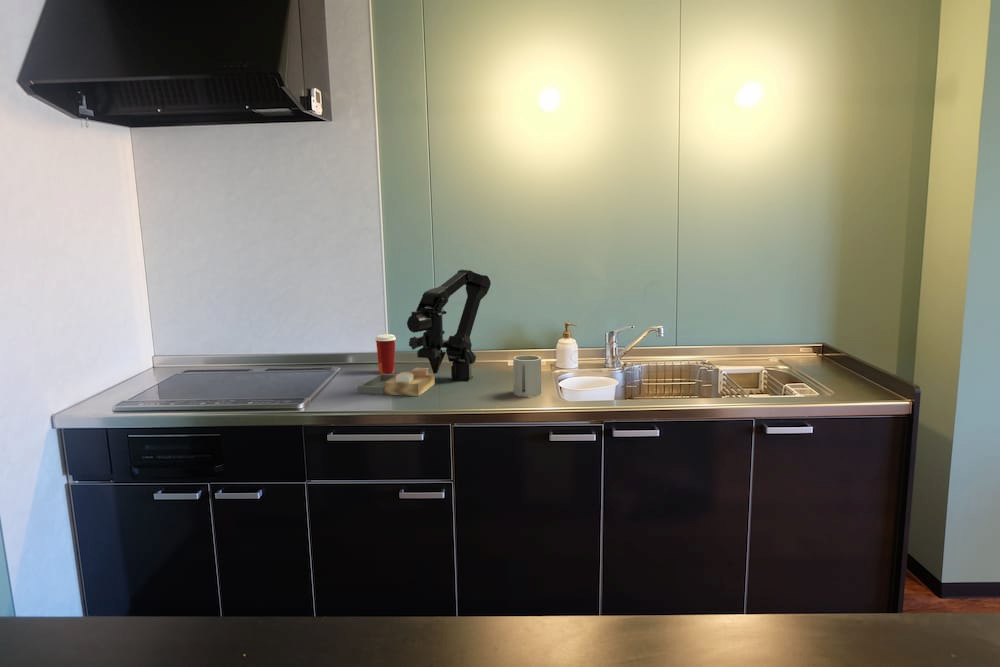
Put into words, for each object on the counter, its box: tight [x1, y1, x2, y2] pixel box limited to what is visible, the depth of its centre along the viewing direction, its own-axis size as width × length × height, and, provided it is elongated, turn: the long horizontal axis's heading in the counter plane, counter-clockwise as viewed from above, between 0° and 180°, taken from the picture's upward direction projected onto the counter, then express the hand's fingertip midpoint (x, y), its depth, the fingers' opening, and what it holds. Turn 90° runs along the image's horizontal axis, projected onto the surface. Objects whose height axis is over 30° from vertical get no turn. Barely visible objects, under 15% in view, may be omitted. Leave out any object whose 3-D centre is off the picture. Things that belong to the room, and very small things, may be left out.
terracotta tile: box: [410, 367, 429, 377], centre depth 237 cm, size 4×4×2 cm
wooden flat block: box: [384, 371, 436, 397], centre depth 233 cm, size 12×16×4 cm
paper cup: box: [375, 333, 397, 375], centre depth 258 cm, size 8×8×14 cm
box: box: [357, 373, 397, 396], centre depth 236 cm, size 9×18×2 cm, turn 166°
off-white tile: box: [396, 372, 414, 383], centre depth 228 cm, size 4×4×2 cm
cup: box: [512, 354, 542, 398], centre depth 226 cm, size 9×9×12 cm
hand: (435, 373), depth 235 cm, fingers closed
